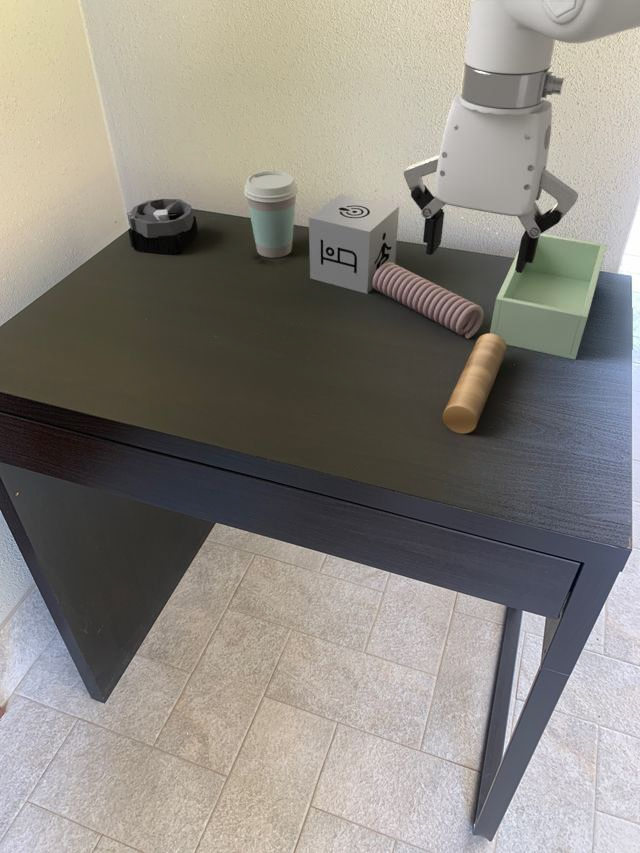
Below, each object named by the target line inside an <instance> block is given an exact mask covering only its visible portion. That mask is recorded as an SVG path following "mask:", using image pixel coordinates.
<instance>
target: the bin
mask: <svg viewBox="0 0 640 853" xmlns="http://www.w3.org/2000/svg"><path fill="white" fill-rule="evenodd" d="M607 245H608V244H606V243H599V242H595V241H594V242H593V241H587V240H582V239H577V238H576V239H575V238H570V237H563V236H557V235H552V234H546V233H541V234H540V236H539V239H538V244H537V248H536V253H535V257H534V260H533V262H532V263H526V265H525V267H524V270H523V272H522V273H518V272H517V271H515V268H516V263H517V258H518V253H519V250H518V251H517V253H516V255H515V257H514V259H513V261H512V264H511V265H510V268H509V270H508V273H507V275H506V277H505V279H504V281H503V283H502V285H501V287H500V290H499V292H498V294H497V296H496V298H495V302H494V309H493V313H492V318H491V319H492V320H491V323H490V330H489V333H491V334H496V335H498V336H500V337H501V338H502V339H503V340H504V341H505V343H506V346H511V347H514V348H515V347H516V348H521V349H525V350H528V351H534V352H538V353H543V354H548V355H551V356H556V357H560V358H565V359H570V360H574V361H575V360H576V359H577V356H578V352H579V348H580V346H581V342H582V339H583V335H584V332H585V328H586V324H587V321H588V318H589V314H590V310H591V307H592V303H593V298H594V296H595V292H596V287H597V284H598V280H599V276H600V273H601V268H602V265H603V261H604V258H605V253H606V251H607V250H606V249H607Z"/></svg>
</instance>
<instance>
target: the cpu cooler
mask: <svg viewBox="0 0 640 853" xmlns="http://www.w3.org/2000/svg"><path fill="white" fill-rule="evenodd" d="M126 216H127V221H128V224H129V227H130V228H129V229H128V237H129V241H130V247H131V248H133V250H134V251H140V252H148V253H150V252H151V253H158V254H167V255H168V254H171V255H176V254H177V253H183V252H184V251H185V250H186V249H187V247H188V246H189V245H190V244H191V243H192V241H193V240H194V239H195V238H196V237H197V235H198V234H199V231H198V230H199V229H198V225H197V224H198V223H197V217H196V216H194V212H193V208H192V205H191V204H189V203H187V202H186V201H184V200H182V199H180V198H158V199H151V200H145V201H144V202H142V203H140V204H138V205H135V206H134V207H133V208H132V209H131V211H129V212H127V213H126Z"/></svg>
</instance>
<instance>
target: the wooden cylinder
mask: <svg viewBox="0 0 640 853" xmlns="http://www.w3.org/2000/svg"><path fill="white" fill-rule="evenodd" d="M507 346H508V345H506V343H505V341H504V340H503V339H502V338H501V337H500V336H498V335H496V334H491V333H490V332H489V333H485V334H482V335H480V336H479V337H478V338H477V339H476V342H475V344H474V346H473V348H472V350H471V352H470V355H469V357H468V359H467V361H466V363H465V366H464V367H463V369H462V372H461V374H460V377H459V378H458V380H457V383H456V385H455V387H454V389H453V391H452V393H451V395H450V397H449V400H448V402H447V404H446V406H445V409H444V411H443V413H442V421H443V423H444V425H445V427H446V428H447V429H449V430H450V431H451V432H454V433H457V434H468V433H472V432H473V431H474V430H475V429H476V427H477V425H478V423H479V420H480V418H481V416H482V413H483V410H484V408H485V405H486V403H487V400H488V399H489V395H490V393H491V390H492V388H493V386H494V383H495V381H496V377H497V375H498V373H499V371H500V368H501V365H502V363H503V361H504V357H505V355H506V353H507V350H508V347H507Z"/></svg>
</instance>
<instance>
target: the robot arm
mask: <svg viewBox="0 0 640 853" xmlns="http://www.w3.org/2000/svg"><path fill="white" fill-rule="evenodd" d="M637 28H640V0H471V3H470V10H469V19H468V27H467V34H466V45H465V53H464V62H463V69H462V78H461V86H460V92H458V93H456V94H455V96H454V97H453V99H452V102H451V105H450V108H449V112H448V115H447V118H446V119H447V120H446V121H445V122H446V123H445V126H444V131H443V135H442V140H441V145H440V150H439V154H438V155H435V156H432V157H430V158H427V159H424V160H421V161H418V162H416V163H414V164H411V165H409V166H408V167H407V168H406V169H405V170H404V171H403V177H404V179H405V182H406V184H407V187H408V189H409V190H410V197H411V199H412V200H413V201H414V203H415V204H416V205H417V207H418V208H419V209H420V210H421V216H422V217H423V218H424V228H423V237H422V242H423V243H425V244H426V249H425V250H426V251H425V255H429V256H432V255H434V254H435V252H436V251H437V249H438V248H439V247H440V246H441V243H442V236H443V227H444V219H445V211H444V208H443V207H444V206H446V205H448V206H451V207H456V208H462V209H468V210H472V211H473V210H474V211H478V212H485V213H490V214H495V215H501V216H508V217H517V218H518V220H519V221H520V223H521V225H522V227H523V228H524V230H525V231H524V232H523V234H522V235H521V238H520V242H519V243H520V244H519V249H518V251H519V253H518V252H517V253H518V258H517V263H516V268H515V271H517V272H518V273H522V272H523V270H524V267H525V265H526V263H532V262H533V260H534V257H535V253H536V248H537V244H538V239H539V236H540V234H544V232H546V231H548V230H550V229H551V228H552V227H554V226H556V225H558V224H559V223H560V222H561V220H562V219H563V218H564V217H565V216H566V215H567V214H568V213H569V211H570V210H571V209H572V207H573V206H574V205H575V204H576V203H577V200H578V198H579V193H578V192H577V191H576V190H575V189H573V188H572V187H571V186H570V185H569V184H567V183H565V182H563V180H561V179H560V178H558V177H557V176H556V175H555V174H553V173H552V172H550V171H549V170H548V169H547V166H548V159H549V151H550V144H551V137H552V136H551V135H552V123H553V122H552V121H553V104H552V103H551V102H550V101H549V100H546V99H547V98H548V96H553V95H557V96H560V95H562V93H563V90H564V86H565V81H566V78H565V77H558V76H557V75H554V71H552V67H553V65H552V60H553V54H554V51H555V46H556V41H557V42H561V43H564V44H574V45H575V44H576V45H579V44H586V43H590V42H595V41H599V40H602V39H605V38H608V37H611V36H614V35H617V34H619V33H623V32H626V31H630V30H635V29H637ZM434 173H435V178H434V195H433V194H432V192H431V191H430V190H429V189H428V187H427V185H425V184H424V180H423V177H426V176H428V175H431V174H434ZM542 191H544V192H546V193H547V194H548V195H549V196H551V197H552V198H554V199H555V201H557V203H556V204H555V205H554V206H553V207H552V208H550V209H549V210H547V211H546V212H544V213H543V212H542V211H541V209H540V207H539V205H538V204H537V203H536V201H539V200H540V197H541V195H542Z"/></svg>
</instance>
